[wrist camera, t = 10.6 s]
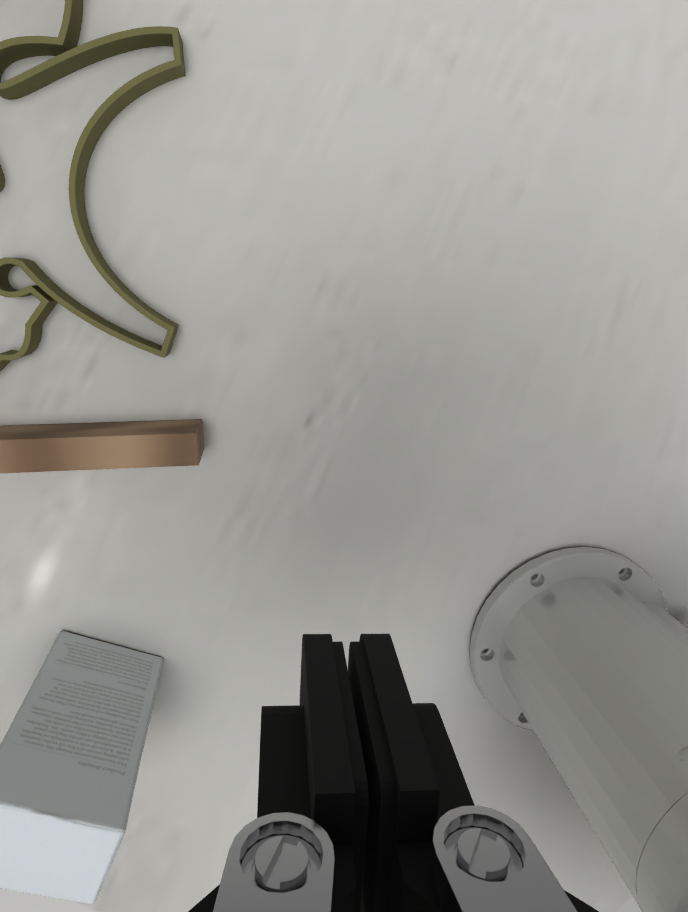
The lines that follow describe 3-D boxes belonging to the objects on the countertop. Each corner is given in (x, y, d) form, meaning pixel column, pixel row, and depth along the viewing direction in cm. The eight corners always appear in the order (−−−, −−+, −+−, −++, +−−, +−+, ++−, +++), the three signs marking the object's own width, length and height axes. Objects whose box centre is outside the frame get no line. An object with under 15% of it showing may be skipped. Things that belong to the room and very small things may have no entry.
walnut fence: (168, -63, 27) (157, -103, 24) (203, 448, 33) (198, 465, 31) (-206, -85, 25) (-265, -131, 22) (-93, 459, 32) (-128, 478, 29)
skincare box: (40, 689, 36) (-61, 882, 25) (61, 627, 35) (-33, 797, 24) (144, 716, 38) (94, 910, 26) (167, 656, 37) (126, 830, 25)
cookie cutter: (176, 389, 33) (171, 396, 31) (-74, 366, 31) (-96, 373, 29) (194, -8, 28) (190, -29, 26) (-100, -63, 26) (-128, -89, 24)
